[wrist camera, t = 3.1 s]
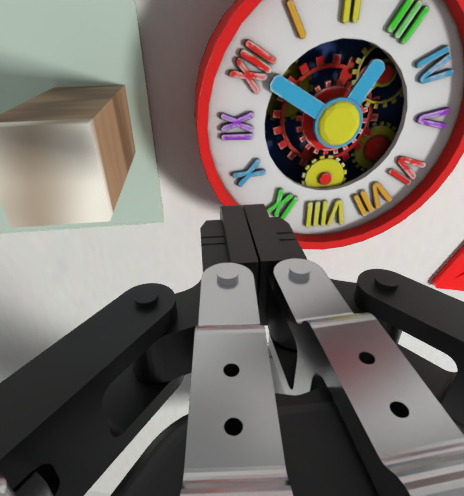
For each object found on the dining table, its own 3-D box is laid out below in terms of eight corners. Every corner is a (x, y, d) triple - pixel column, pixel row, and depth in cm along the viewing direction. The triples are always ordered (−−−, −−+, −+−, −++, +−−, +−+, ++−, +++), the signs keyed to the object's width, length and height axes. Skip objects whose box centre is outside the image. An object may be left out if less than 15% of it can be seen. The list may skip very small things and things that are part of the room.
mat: (131, -26, 24) (130, -27, 23) (164, 219, 33) (164, 222, 33) (-205, -23, 22) (-213, -24, 21) (-68, 235, 31) (-72, 238, 31)
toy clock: (357, 281, 32) (147, 184, 25) (334, 247, 37) (153, 158, 30) (548, 64, 24) (315, -167, 17) (486, 57, 29) (286, -124, 22)
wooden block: (124, 84, 26) (88, 123, 16) (135, 152, 29) (110, 221, 19) (54, 87, 26) (-29, 128, 16) (71, 155, 29) (10, 227, 19)
